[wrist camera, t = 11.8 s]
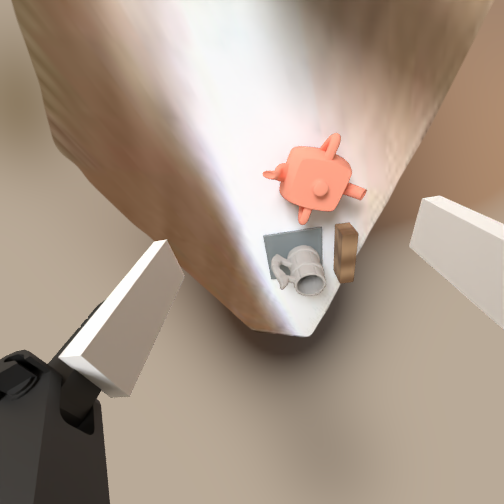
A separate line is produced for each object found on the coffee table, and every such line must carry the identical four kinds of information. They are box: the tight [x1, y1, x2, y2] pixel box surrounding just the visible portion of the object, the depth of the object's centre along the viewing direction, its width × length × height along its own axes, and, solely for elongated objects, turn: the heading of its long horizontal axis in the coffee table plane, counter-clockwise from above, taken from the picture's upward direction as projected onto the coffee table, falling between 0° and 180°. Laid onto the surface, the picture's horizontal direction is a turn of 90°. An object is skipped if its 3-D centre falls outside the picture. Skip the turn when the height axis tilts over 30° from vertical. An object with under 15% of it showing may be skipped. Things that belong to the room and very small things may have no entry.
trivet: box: [263, 227, 322, 279], centre depth 50 cm, size 13×13×1 cm
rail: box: [334, 223, 358, 283], centre depth 46 cm, size 13×3×5 cm, turn 11°
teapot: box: [263, 133, 367, 225], centre depth 35 cm, size 14×12×10 cm
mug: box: [271, 245, 326, 296], centre depth 44 cm, size 8×12×12 cm, turn 79°
